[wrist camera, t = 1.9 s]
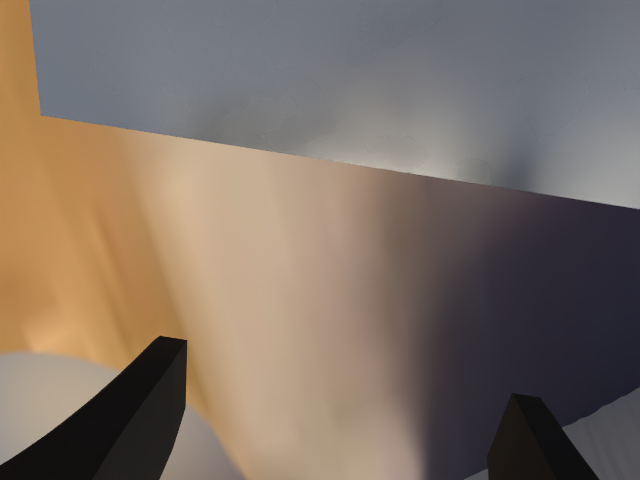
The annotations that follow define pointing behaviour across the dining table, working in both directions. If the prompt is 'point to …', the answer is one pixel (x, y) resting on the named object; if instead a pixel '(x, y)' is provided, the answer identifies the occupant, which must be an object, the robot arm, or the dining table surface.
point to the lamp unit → (367, 83)
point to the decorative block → (606, 440)
